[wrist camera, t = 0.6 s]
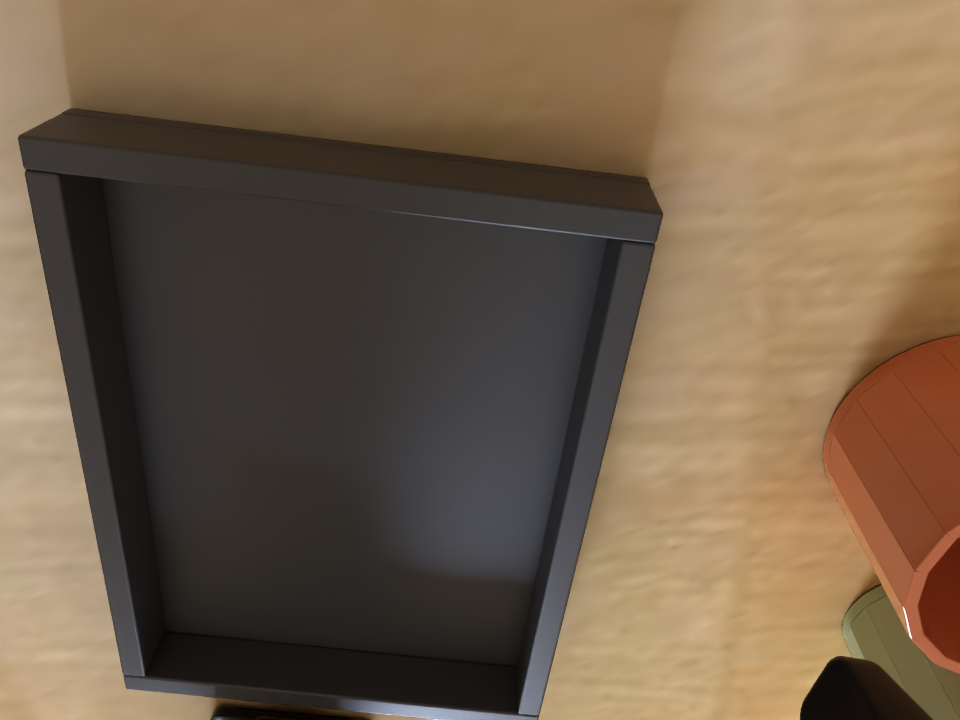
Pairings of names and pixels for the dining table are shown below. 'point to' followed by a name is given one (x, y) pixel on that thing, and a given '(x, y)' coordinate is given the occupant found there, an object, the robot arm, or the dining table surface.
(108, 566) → the tray
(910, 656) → the small cup
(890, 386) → the big cup
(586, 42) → the dining table surface
